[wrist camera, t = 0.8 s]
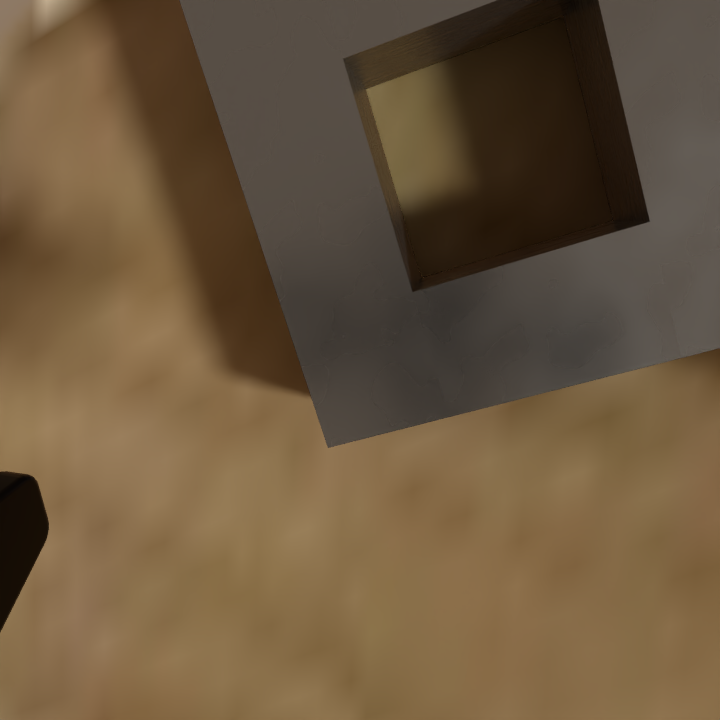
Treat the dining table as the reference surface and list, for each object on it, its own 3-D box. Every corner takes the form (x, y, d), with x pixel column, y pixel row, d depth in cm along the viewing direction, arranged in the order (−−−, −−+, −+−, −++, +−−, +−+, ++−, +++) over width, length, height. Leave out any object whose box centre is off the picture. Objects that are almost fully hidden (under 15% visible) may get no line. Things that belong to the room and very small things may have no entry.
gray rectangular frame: (760, 299, 20) (833, 319, 16) (351, 407, 22) (327, 447, 18) (662, -167, 18) (719, -275, 14) (224, 13, 20) (168, -34, 16)
